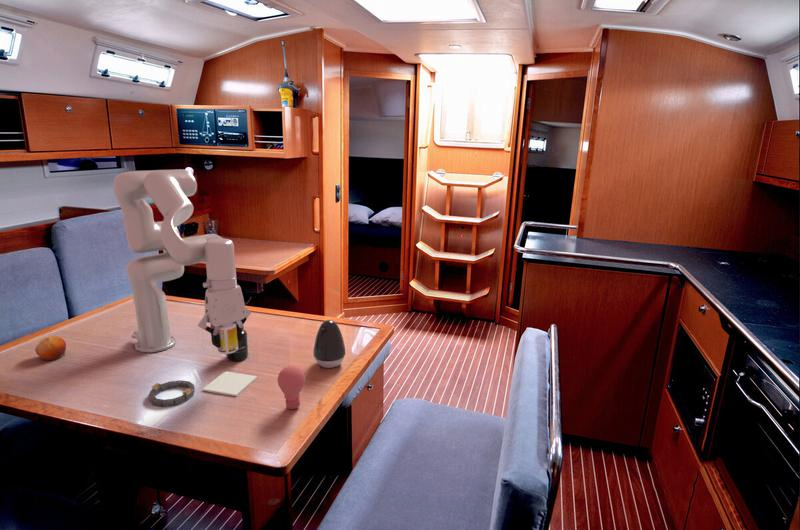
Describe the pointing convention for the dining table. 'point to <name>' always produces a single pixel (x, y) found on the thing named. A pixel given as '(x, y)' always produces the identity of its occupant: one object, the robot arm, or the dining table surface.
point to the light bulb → (291, 385)
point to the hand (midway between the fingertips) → (227, 342)
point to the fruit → (51, 348)
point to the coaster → (230, 383)
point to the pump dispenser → (329, 345)
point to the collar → (172, 384)
